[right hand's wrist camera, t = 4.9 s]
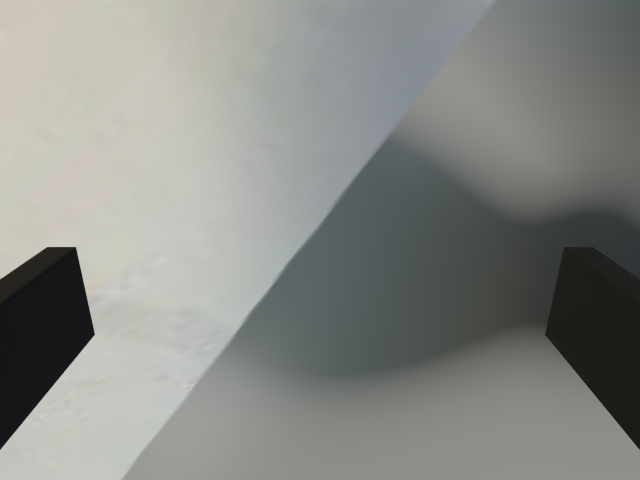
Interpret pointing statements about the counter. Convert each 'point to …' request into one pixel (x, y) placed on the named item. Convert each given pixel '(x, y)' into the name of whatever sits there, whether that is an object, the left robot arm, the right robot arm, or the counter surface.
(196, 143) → the counter surface
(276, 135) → the counter surface
